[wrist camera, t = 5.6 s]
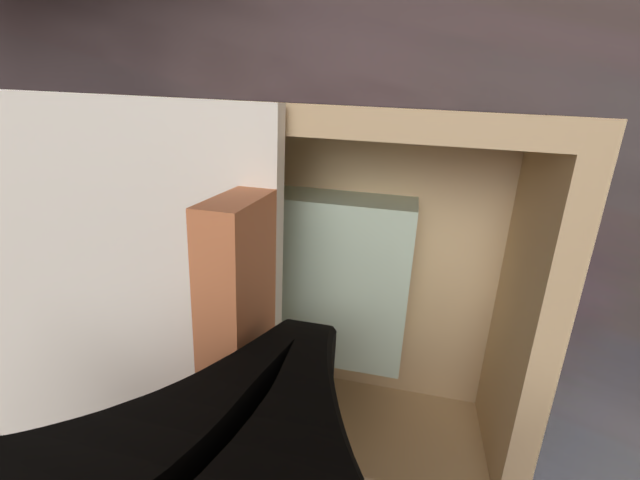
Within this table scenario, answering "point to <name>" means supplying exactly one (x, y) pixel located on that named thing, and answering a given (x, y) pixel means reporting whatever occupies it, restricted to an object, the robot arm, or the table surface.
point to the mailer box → (442, 274)
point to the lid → (131, 244)
